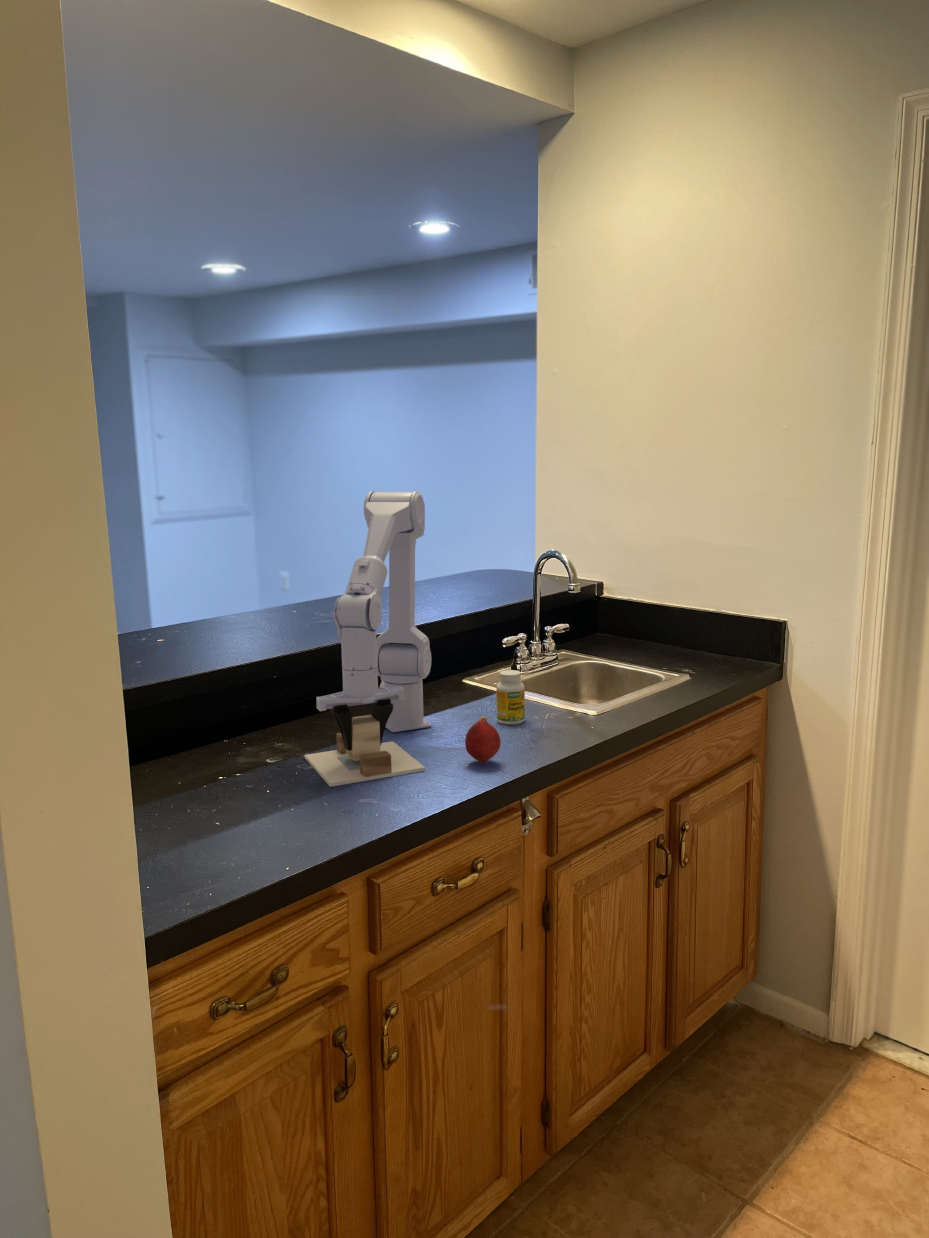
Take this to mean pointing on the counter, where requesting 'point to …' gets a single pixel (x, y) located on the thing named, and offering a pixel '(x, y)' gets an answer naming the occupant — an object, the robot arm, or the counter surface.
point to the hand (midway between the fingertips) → (362, 746)
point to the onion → (482, 741)
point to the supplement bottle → (510, 698)
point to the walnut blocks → (369, 760)
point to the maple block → (364, 736)
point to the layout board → (347, 770)
